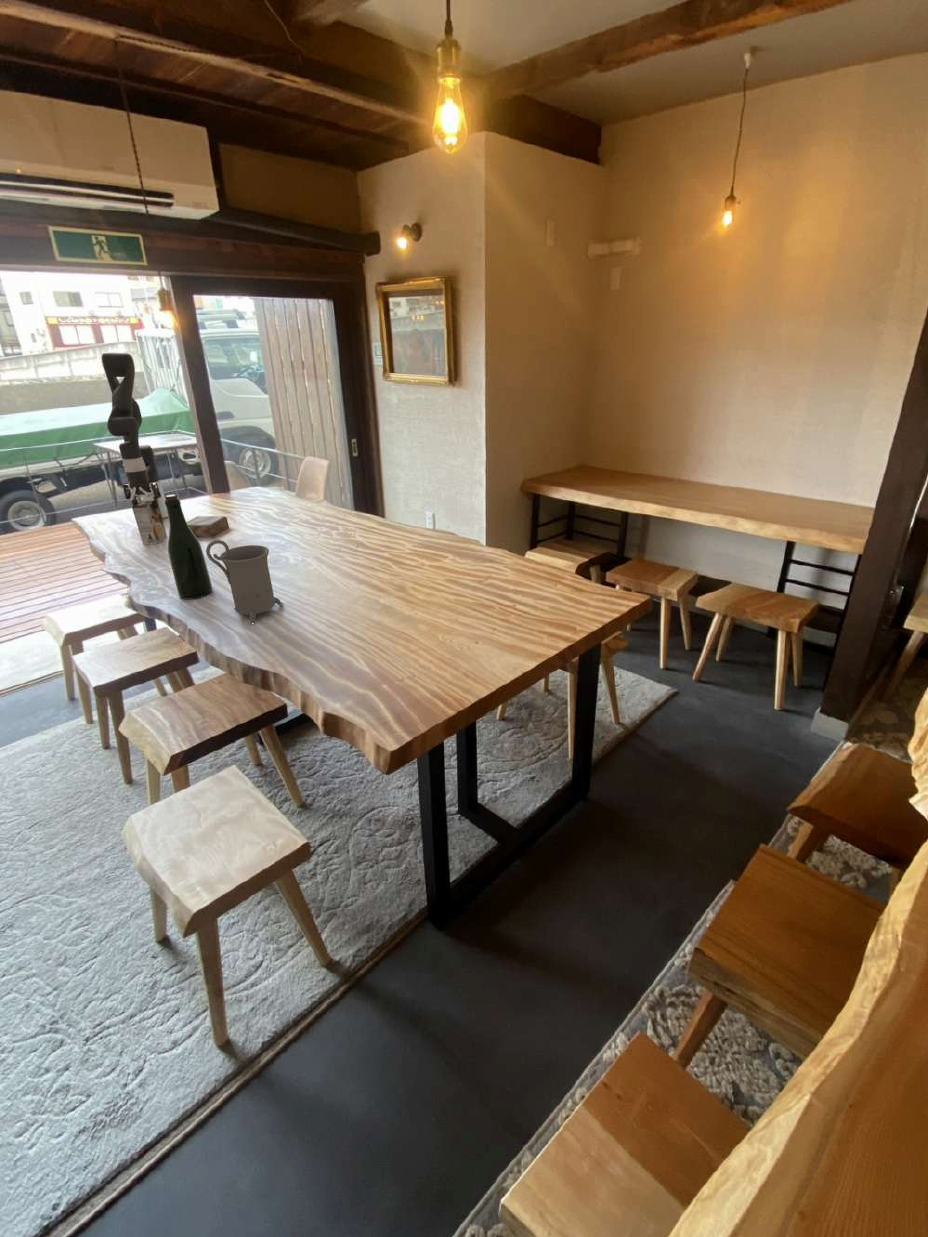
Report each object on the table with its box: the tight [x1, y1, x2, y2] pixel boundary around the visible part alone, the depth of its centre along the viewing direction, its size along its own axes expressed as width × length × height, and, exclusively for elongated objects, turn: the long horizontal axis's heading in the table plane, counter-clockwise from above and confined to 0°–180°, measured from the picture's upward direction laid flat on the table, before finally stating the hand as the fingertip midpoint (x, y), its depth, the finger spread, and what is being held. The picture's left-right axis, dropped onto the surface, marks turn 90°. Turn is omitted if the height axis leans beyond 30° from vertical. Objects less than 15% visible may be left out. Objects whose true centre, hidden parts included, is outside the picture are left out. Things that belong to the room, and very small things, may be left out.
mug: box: [205, 539, 284, 624], centre depth 175 cm, size 19×15×25 cm
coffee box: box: [131, 501, 168, 545], centre depth 246 cm, size 9×6×16 cm
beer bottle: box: [164, 494, 213, 599], centre depth 189 cm, size 10×10×33 cm
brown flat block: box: [186, 515, 230, 539], centre depth 256 cm, size 14×14×5 cm
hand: (146, 509), depth 244 cm, fingers open, 8 cm apart
